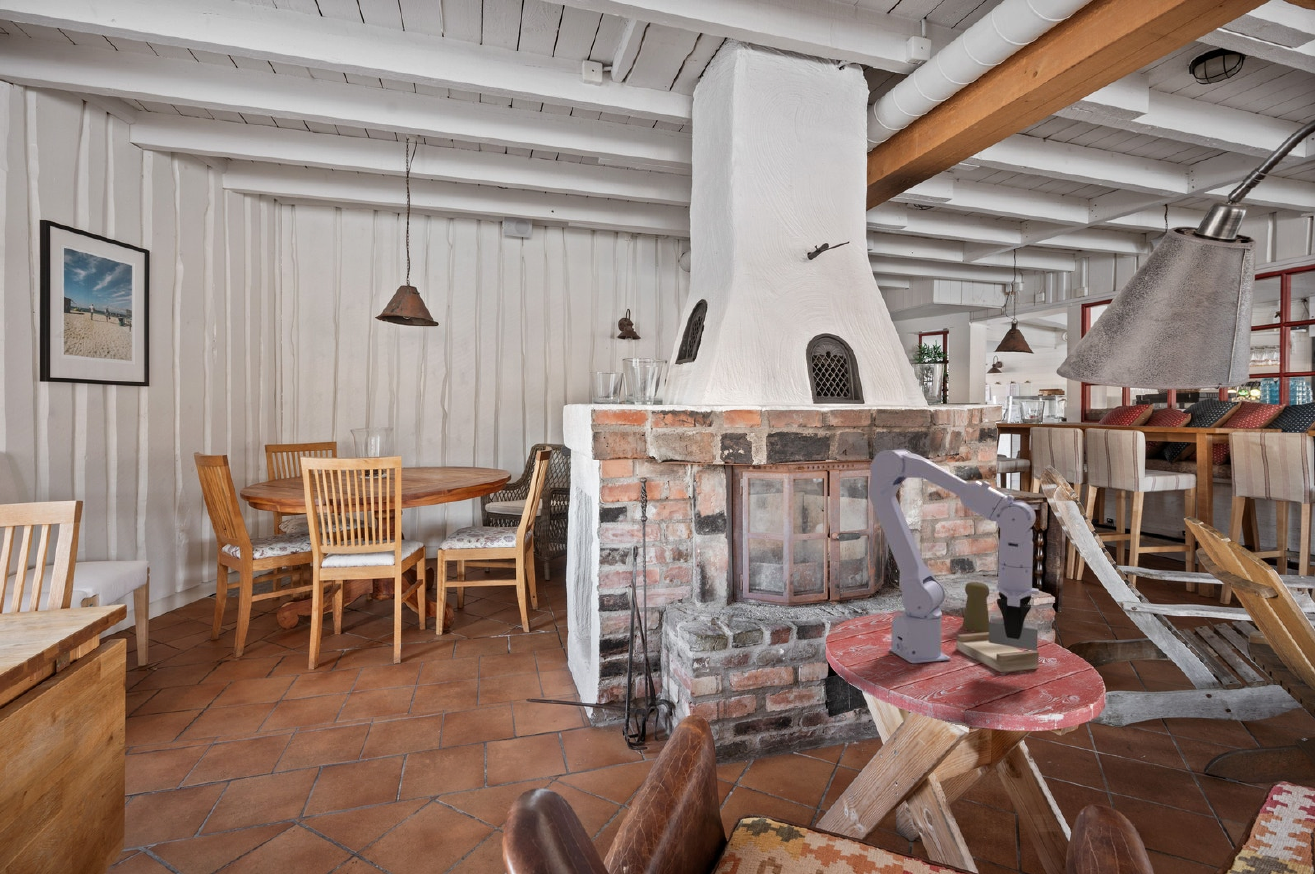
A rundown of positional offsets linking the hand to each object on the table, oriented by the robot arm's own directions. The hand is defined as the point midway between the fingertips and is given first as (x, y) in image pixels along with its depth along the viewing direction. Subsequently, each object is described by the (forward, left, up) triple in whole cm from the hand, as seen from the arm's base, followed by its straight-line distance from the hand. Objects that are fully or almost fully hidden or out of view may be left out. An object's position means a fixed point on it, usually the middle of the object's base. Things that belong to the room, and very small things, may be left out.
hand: (1013, 633), depth 120 cm
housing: (0, 0, -2) cm, 2 cm away
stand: (+4, +8, -8) cm, 13 cm away
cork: (+14, +25, -9) cm, 30 cm away
